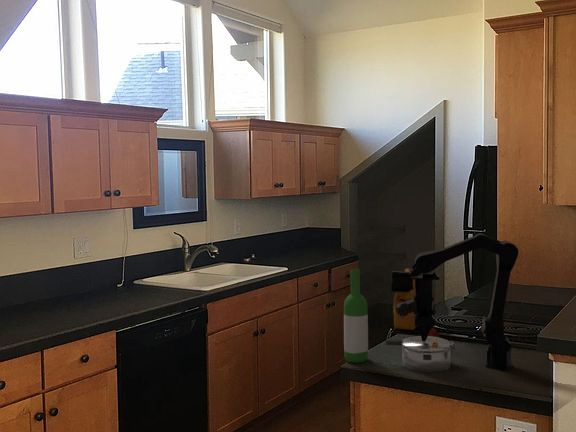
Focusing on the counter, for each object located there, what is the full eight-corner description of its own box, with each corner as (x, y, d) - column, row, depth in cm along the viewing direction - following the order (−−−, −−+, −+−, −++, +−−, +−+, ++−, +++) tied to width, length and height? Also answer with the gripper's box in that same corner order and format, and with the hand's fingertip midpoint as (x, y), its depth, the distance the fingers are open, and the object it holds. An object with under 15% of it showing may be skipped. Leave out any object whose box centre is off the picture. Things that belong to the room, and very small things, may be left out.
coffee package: (389, 328, 251) (389, 272, 249) (397, 321, 262) (397, 267, 260) (415, 331, 247) (415, 274, 245) (422, 323, 258) (422, 268, 256)
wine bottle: (371, 362, 211) (370, 271, 208) (347, 364, 209) (346, 272, 207) (364, 355, 218) (363, 267, 216) (341, 357, 217) (340, 268, 214)
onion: (426, 344, 229) (426, 322, 229) (441, 347, 226) (441, 324, 225) (418, 348, 225) (418, 326, 224) (434, 351, 221) (434, 328, 220)
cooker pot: (448, 355, 216) (448, 338, 216) (452, 375, 197) (452, 355, 197) (402, 354, 219) (402, 336, 218) (402, 373, 200) (402, 354, 199)
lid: (452, 340, 213) (452, 333, 213) (456, 354, 198) (456, 346, 198) (386, 337, 217) (386, 331, 217) (385, 351, 202) (385, 344, 202)
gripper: (398, 286, 216) (398, 332, 218) (398, 298, 198) (397, 348, 200) (432, 287, 215) (432, 333, 216) (435, 299, 196) (435, 350, 198)
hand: (423, 341), depth 207 cm, fingers closed
